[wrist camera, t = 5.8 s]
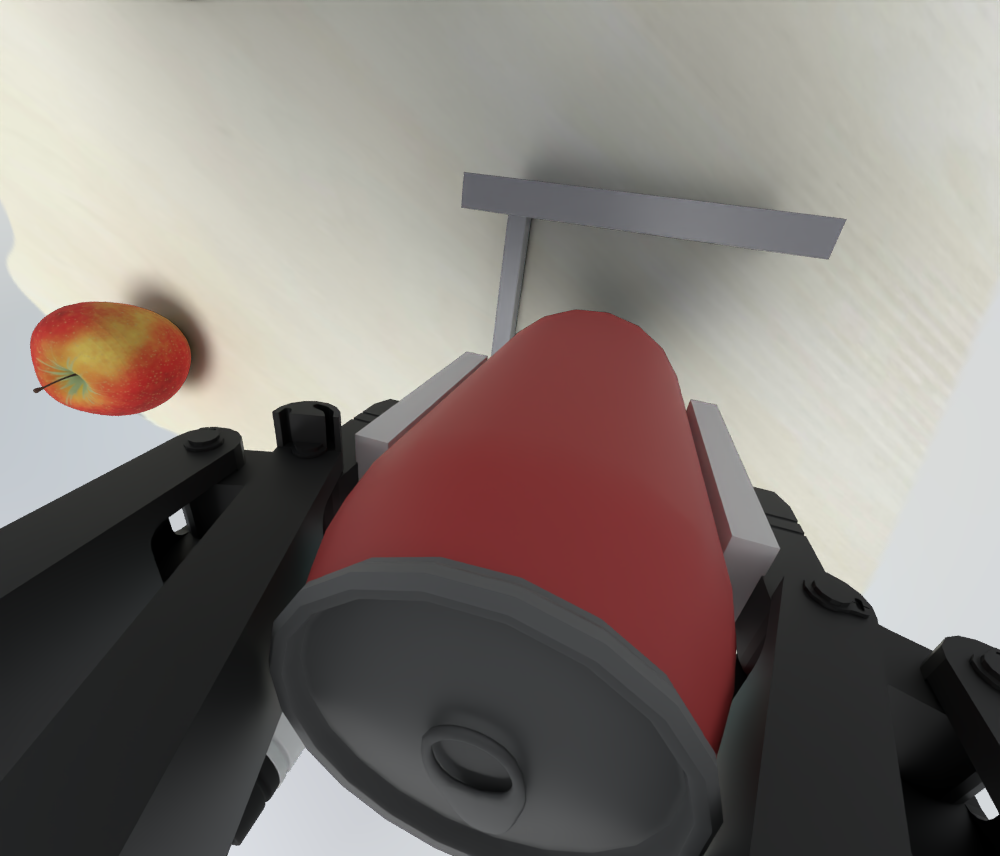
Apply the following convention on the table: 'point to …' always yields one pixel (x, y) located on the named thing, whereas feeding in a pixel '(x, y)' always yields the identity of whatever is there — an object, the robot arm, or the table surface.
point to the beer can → (526, 612)
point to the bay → (632, 225)
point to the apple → (109, 357)
